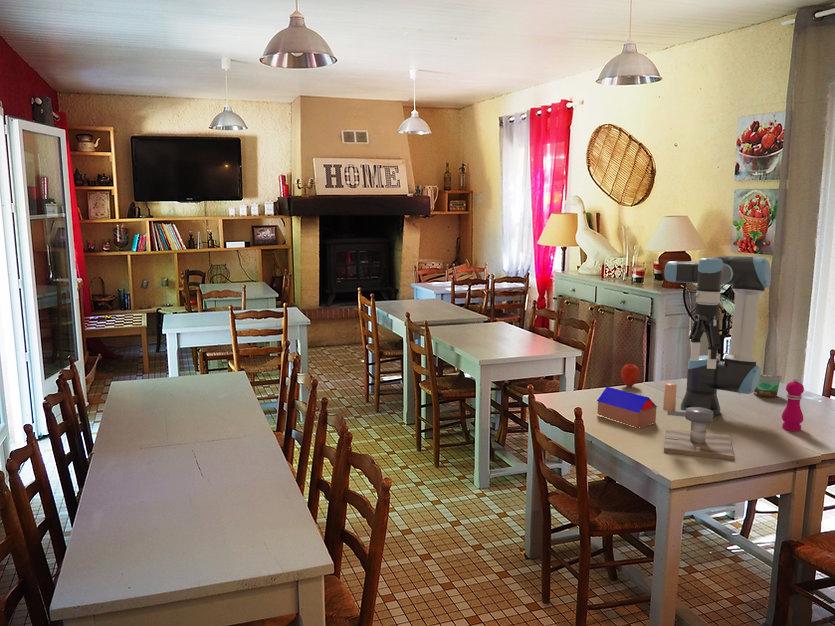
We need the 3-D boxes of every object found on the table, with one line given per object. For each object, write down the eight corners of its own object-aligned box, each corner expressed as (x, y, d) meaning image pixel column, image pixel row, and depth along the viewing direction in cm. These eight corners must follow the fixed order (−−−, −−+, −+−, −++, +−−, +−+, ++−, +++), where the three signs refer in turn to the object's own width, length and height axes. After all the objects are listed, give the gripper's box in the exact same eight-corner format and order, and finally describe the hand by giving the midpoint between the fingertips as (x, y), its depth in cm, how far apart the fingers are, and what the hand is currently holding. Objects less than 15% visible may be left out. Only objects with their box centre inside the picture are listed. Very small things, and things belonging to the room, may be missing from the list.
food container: (752, 397, 302) (753, 375, 300) (749, 393, 308) (751, 372, 306) (783, 399, 298) (785, 377, 297) (780, 396, 304) (781, 374, 303)
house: (615, 411, 284) (616, 384, 282) (656, 423, 268) (658, 394, 266) (596, 416, 277) (597, 388, 275) (637, 429, 261) (639, 400, 259)
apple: (641, 389, 316) (642, 366, 315) (622, 389, 317) (623, 366, 315) (636, 384, 325) (637, 362, 323) (618, 384, 325) (619, 362, 324)
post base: (665, 432, 257) (666, 408, 255) (729, 439, 249) (730, 414, 247) (663, 452, 236) (665, 425, 235) (733, 460, 229) (735, 433, 227)
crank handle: (712, 416, 244) (714, 384, 242) (713, 424, 235) (715, 391, 234) (663, 411, 250) (664, 380, 248) (662, 419, 241) (664, 387, 239)
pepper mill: (791, 432, 256) (795, 380, 253) (776, 426, 263) (780, 376, 260) (806, 430, 258) (811, 379, 255) (791, 425, 265) (796, 374, 261)
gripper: (682, 299, 246) (678, 357, 248) (712, 307, 221) (707, 371, 223) (703, 299, 246) (698, 357, 248) (735, 307, 221) (730, 372, 223)
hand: (702, 364), depth 236 cm, fingers open, 13 cm apart
